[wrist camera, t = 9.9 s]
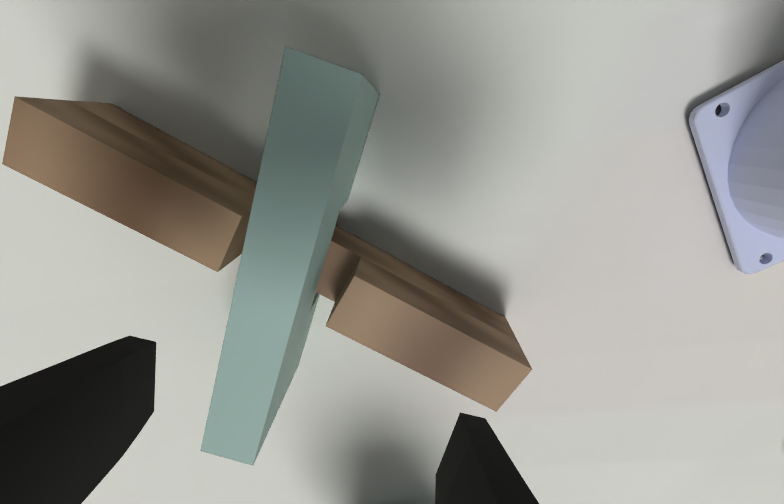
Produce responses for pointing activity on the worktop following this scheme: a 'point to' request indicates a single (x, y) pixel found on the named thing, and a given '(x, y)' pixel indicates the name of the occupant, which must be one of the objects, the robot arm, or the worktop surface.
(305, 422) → the worktop surface
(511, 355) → the slotted board
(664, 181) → the worktop surface
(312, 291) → the slotted plate
